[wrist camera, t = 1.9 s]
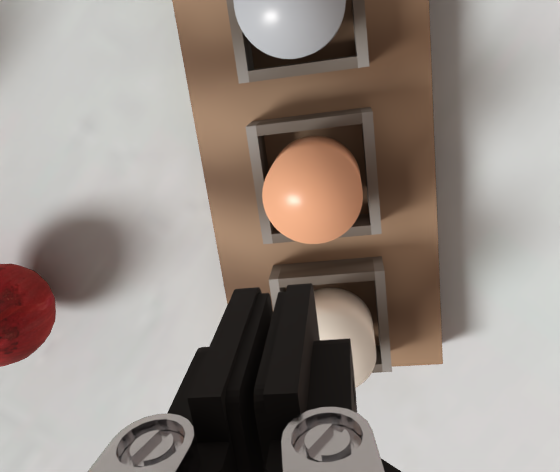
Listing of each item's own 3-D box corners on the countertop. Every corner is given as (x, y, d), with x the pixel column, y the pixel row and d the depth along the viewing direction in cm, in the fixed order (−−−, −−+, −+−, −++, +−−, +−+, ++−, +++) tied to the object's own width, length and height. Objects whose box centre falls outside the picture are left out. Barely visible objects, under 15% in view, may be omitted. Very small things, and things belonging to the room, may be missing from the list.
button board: (173, -59, 27) (145, -75, 23) (418, -102, 25) (431, -127, 21) (245, 356, 34) (234, 394, 31) (436, 345, 33) (449, 384, 29)
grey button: (239, -43, 23) (224, -55, 20) (340, -60, 23) (340, -74, 20) (253, 63, 25) (242, 66, 22) (349, 50, 24) (350, 51, 21)
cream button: (285, 290, 28) (280, 317, 26) (369, 284, 28) (372, 311, 25) (295, 361, 30) (291, 395, 27) (375, 357, 29) (379, 391, 26)
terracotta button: (264, 140, 26) (255, 153, 23) (356, 130, 25) (358, 141, 22) (276, 226, 27) (269, 248, 24) (364, 218, 27) (366, 239, 24)
